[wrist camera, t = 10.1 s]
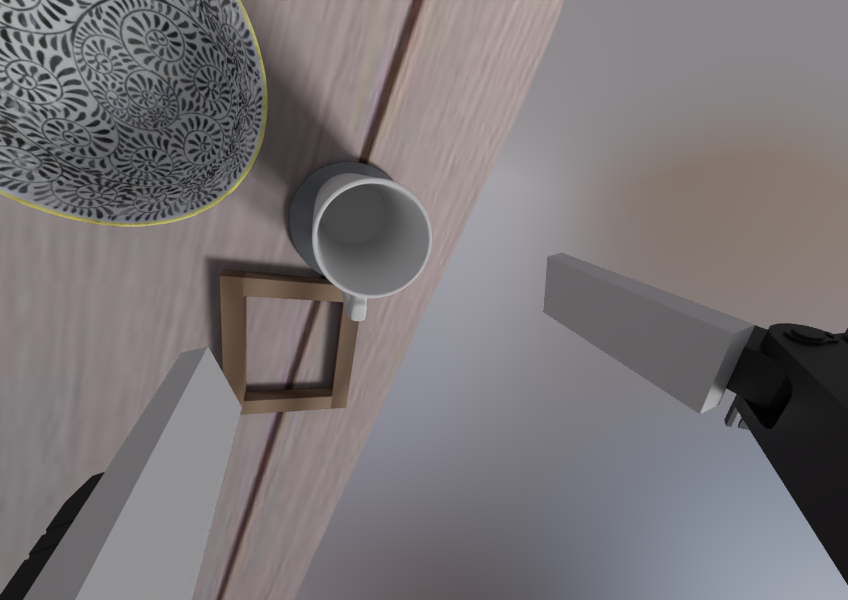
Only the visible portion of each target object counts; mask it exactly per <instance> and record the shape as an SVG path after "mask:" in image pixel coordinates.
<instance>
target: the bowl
mask: <svg viewBox="0 0 848 600" xmlns="http://www.w3.org/2000/svg"><path fill="white" fill-rule="evenodd" d="M267 117H268V91H267V82H266V75H265V69H264V64H263V60H262V56H261V52H260V48H259V45H258V41H257V38H256V35H255V32H254V30H253V27H252V24H251V22H250V19H249V17H248V14H247V12H246V10H245V8H244V6H243V4H242V1H241V0H0V194H2V195H4V196H6V197H8V198H10V199H12V200H14V201H17V202H19V203H22V204H24V205H27V206H30V207H32V208H35V209H38V210H41V211H44V212H47V213H50V214H54V215H58V216H61V217H65V218H69V219H73V220H77V221H82V222H87V223H93V224H100V225H108V226H124V227H131V226H139V227H144V226H150V225H159V224H166V223H171V222H175V221H179V220H183V219H186V218H189V217H192V216H194V215H197V214H199V213H202V212H204V211H206V210H208V209H210V208H211V207H213V206H215V205H216V204H218V203H219V202H221V201H222V200H223V199H225V198H226V197H227V196H228V195H229V194H231V193H232V192H233V191H234V190H235V189H236V188H237V186H238V185H239V184H240V183H241V182H242V181H243V179H244V178H245V177H246V175H247V174H248V172H249V171H250V169H251V168H252V166H253V164H254V162H255V160H256V158H257V156H258V153H259V151H260V148H261V145H262V142H263V138H264V134H265V130H266V124H267Z"/></svg>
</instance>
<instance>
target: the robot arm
mask: <svg viewBox="0 0 848 600" xmlns="http://www.w3.org/2000/svg"><path fill="white" fill-rule="evenodd" d="M546 270H547V271H546V283H545V297H544V311H543V312H544V313H546V314H547V315H549V316H550V317H552V318H553V319H555V320H557V321H558V322H559V323H561V324H563V325H564V326H566V327H567V328H569V329H570V330H572V331H573V332H575V333H577V334H578V335H579V336H581V337H583V338H584V339H585V340H587V341H588V342H590V343H592V344H593V345H595V346H596V347H598V348H599V349H601V350H602V351H604V352H605V353H607V354H608V355H610V356H612V357H613V358H615V359H616V360H618V361H619V362H621V363H622V364H624V365H625V366H627V367H628V368H630V369H631V370H633V371H634V372H636V373H638V374H639V375H641V376H642V377H644V378H645V379H647V380H648V381H650V382H652V383H653V384H654V385H656V386H658V387H659V388H661V389H662V390H664V391H665V392H667V393H668V394H670V395H671V396H673V397H675V398H676V399H677V400H679V401H680V402H682V403H683V404H685V405H687V406H688V407H690V408H691V409H693V410H694V411H696V412H697V413H699V414H701V413H703V412H705V411H707V410H709V409H711V408H713V407H716V406H718V405H719V403H720V401H721V399H722V397H723V394H724V392H725V390H726V388H727V389H729V390H731V391H732V392H734V393H736V394H737V395H736V397H735V399H734V401H733V403H732V405H731V407H730V409H729V411H728V413H727V415H726V417H725V424H726V426H731V425H732V424H733V422H734V419H735V418H736V417H739V416H741V417H742V418H741V420H740V422H739V424H738V428H742V429H748V430H750V431H751V433H752V434H753V436H754V438H755V439H756V441H757V442H758V444H759V445H760V447H761V448H762V450H763V452H764V453H765V455H766V457H767V458H768V460H769V461H770V463H771V464H772V466H773V468H774V469H775V471H776V472H777V474H778V475H779V477H780V478H781V480H782V482H783V483H784V485H785V486H786V488H787V490H788V491H789V493H790V494H791V496H792V498H793V499H794V501H795V502H796V504H797V506H798V507H799V508H800V510H801V512H802V513H803V515H804V517H805V518H806V520H807V521H808V523H809V525H810V526H811V528H812V529H813V531H814V532H815V534H816V536H817V537H818V539H819V540H820V542H821V543H822V545H823V546H824V548H825V550H826V551H827V553H828V555H829V556H830V558H831V559H832V561H833V562H834V564H835V566H836V567H837V569H838V570H839V572H840V573H841V575H842V577H843V578H844V580H845V581H846V583H847V585H848V328H847V330H846V332H845V333H839V334H832V333H830V332H826V331H823V330H820V329H817V328H813V327H809V326H804V325H798V324H788V323H785V324H775V325H772V326H770V327H769V329H768V330H767V329H764V328H761V327H758V326H756V325H754V324H751V323H748V322H746V321H743V320H741V319H738V318H735V317H733V316H730V315H727V314H725V313H722V312H719V311H716V310H714V309H711V308H709V307H706V306H703V305H700V304H698V303H695V302H692V301H690V300H687V299H684V298H682V297H679V296H676V295H674V294H671V293H668V292H665V291H663V290H660V289H658V288H655V287H652V286H650V285H647V284H644V283H642V282H639V281H636V280H633V279H631V278H628V277H625V276H623V275H620V274H617V273H615V272H612V271H609V270H606V269H604V268H601V267H598V266H596V265H593V264H590V263H588V262H585V261H582V260H580V259H577V258H575V257H572V256H569V255H566V254H564V253H560V254H556V255H552V256H548V257H547V269H546ZM241 409H242V406H241V405H240V403H239V401H238V399H237V397H236V396H235V394H234V392H233V390H232V388H231V387H230V385H229V383H228V381H227V379H226V378H225V376H224V374H223V372H222V370H221V369H220V367H219V365H218V363H217V361H216V360H215V358H214V356H213V354H212V352H211V351H210V349H209V347H208V346H207V347H203V348H199V349H195V350H192V351H188V352H184V353H181V354H180V356H179V358H178V359H177V361H176V362H175V364H174V365H173V367H172V368H171V370H170V372H169V373H168V375H167V376H166V378H165V379H164V381H163V383H162V384H161V386H160V387H159V389H158V390H157V392H156V393H155V395H154V397H153V398H152V400H151V401H150V403H149V404H148V406H147V407H146V409H145V411H144V412H143V414H142V415H141V417H140V418H139V420H138V421H137V423H136V425H135V426H134V428H133V429H132V431H131V432H130V434H129V436H128V437H127V439H126V440H125V442H124V443H123V445H122V446H121V448H120V450H119V451H118V453H117V454H116V456H115V457H114V459H113V460H112V462H111V464H110V465H109V467H108V468H107V470H106V471H105V472H103V473H100V474H97V475H94V476H92V477H91V478H90V479H89V480H88V481H86V482H85V483H84V484H83V485H82V486H81V487H80V488H79V489H78V490H77V491H76V492H75V493H74V494H73V495H72V496H71V497H70V498H69V499H68V500H67V501H66V502H65V503H64V505H63V506H62V507H61V509H60V510H59V512H58V513H57V515H56V516H55V517H54V519H53V520H52V522H51V523H50V525H49V526H48V527H47V529H46V531H47V532H46V534H45V535H42V536H41V537H40V539H39V540H38V542H37V543H36V545H35V546H34V547H33V549H32V550H31V552H30V553H29V555H30V557H29V559H27V560H24V562H23V563H22V565H21V566H20V567H19V569H18V570H17V572H16V573H15V575H14V576H13V577H12V579H11V580H10V582H9V583H8V584H7V586H6V587H5V589H4V590H3V592H2V593H1V594H0V600H192V597H193V593H194V589H195V586H196V582H197V578H198V574H199V570H200V566H201V563H202V559H203V555H204V551H205V547H206V543H207V539H208V536H209V532H210V528H211V524H212V520H213V516H214V513H215V509H216V505H217V501H218V497H219V493H220V489H221V486H222V482H223V478H224V474H225V470H226V466H227V463H228V459H229V455H230V451H231V447H232V443H233V439H234V436H235V432H236V428H237V424H238V420H239V416H240V413H241Z"/></svg>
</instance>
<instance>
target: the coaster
mask: <svg viewBox="0 0 848 600" xmlns="http://www.w3.org/2000/svg"><path fill="white" fill-rule="evenodd" d="M344 173H355V174H360V175H365V176H370V177H375V178H383V179H388V180H391V181H393V180H392V179H391V178H390V177H388V176H387V175H386V174H384V173H383V172H381V171H380V170H378V169H376V168H374V167H372V166H369V165H366V164H362V163H356V162H339V163H334V164H330V165H327V166H325V167H322V168H320V169H318V170H317V171H315V172H314V173H312V174H311V175H310V176H309V177H308V178H306V180H305V181H304V182H303V183H302V184H301V186H300V187H299V189H298V190H297V192H296V194H295V196H294V199H293V201H292V205H291V208H290V216H289V226H290V232H291V236H292V240H293V243H294V245H295V247H296V249H297V251H298V253H299V254H300V256H301V257H302V258H303V260H304V261H305V262H306V263H307V264H308V265H309V266H310V267H311V268H312V269H314V270H315V271H316V272H318V273H319V274H321V275H323V276H325V275H324V274H323V272H322V271H321V269H320V268H319V266H318V264H317V261H316V259H315V256H314V252H313V246H312V224H313V215H314V205H315V200H316V197H317V194H318V192H319V190H320V188H321V187H322V186H323V184H324V183H325V182H326V181H328V180H329V179H330V178H332V177H334V176H336V175H339V174H344ZM325 277H326V276H325Z"/></svg>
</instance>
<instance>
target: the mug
mask: <svg viewBox="0 0 848 600" xmlns="http://www.w3.org/2000/svg"><path fill="white" fill-rule="evenodd" d="M431 244H432V231H431V224H430V221H429V217H428V215H427V213H426V210H425V208H424V207H423V205H422V204H421V202H420V201H419V200H418V198H417V197H416V196H415V195H414V194H413V193H412V192H411V191H409V190H408V189H407V188H405V187H404V186H402V185H400V184H398V183H396V182H394V181H391V180H388V179H383V178H375V177H370V176H365V175H360V174H355V173H344V174H339V175H336V176H334V177H332V178H330V179H329V180H328V181H326V182H325V183H324V184H323V186H322V187H321V188H320V190H319V192H318V194H317V197H316V200H315V205H314V215H313V224H312V246H313V252H314V256H315V259H316V261H317V264H318V266H319V268H320V269H321V271H322V272H323V274H324V275H325V276H326V278H327V279H328V280H329V281H330V282H331V283H332V284H334V285H335V286H336V287H337V288H339V289H340V290H341V291H342V297H343V303H344V308H345V312H346V314H347V316H348V317H350V318H351V319H352V320H353V321H363V320H364V319H365V316H366V309H367V305H366V303H367V298H380V297H385V296H389V295H392V294H394V293H396V292H399V291H400V290H402V289H404V288H405V287H407V286H408V285H409V284H410V283H412V282H413V281H414V280H415V279H416V278H417V276H418V275H419V274H420V273H421V271H422V270H423V268H424V266H425V264H426V262H427V260H428V257H429V254H430V250H431Z"/></svg>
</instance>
